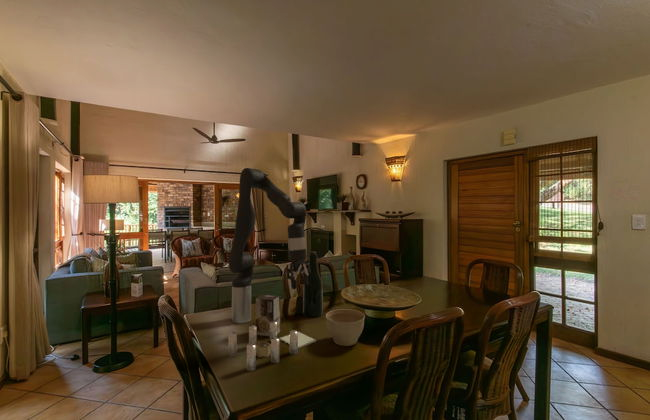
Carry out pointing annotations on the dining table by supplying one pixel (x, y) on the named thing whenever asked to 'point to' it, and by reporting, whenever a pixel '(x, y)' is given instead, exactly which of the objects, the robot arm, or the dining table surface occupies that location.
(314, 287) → the beer bottle
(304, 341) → the pad
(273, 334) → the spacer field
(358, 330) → the planter bowl
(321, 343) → the dining table surface
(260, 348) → the brass nut
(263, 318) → the coffee box
